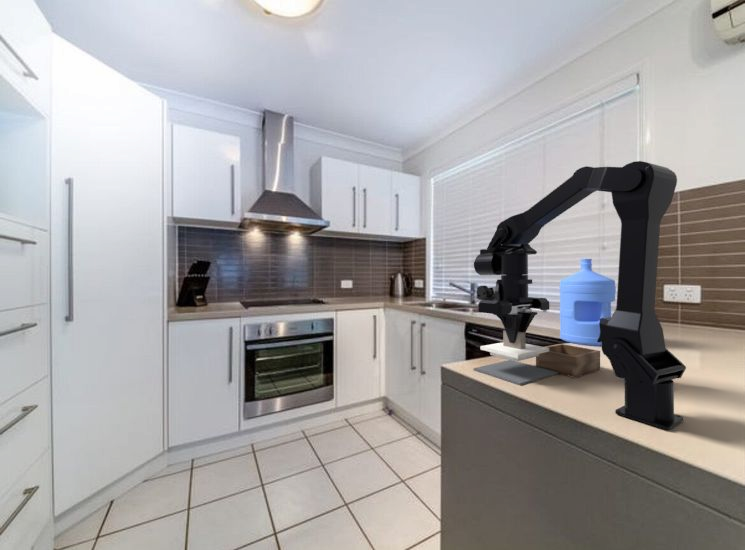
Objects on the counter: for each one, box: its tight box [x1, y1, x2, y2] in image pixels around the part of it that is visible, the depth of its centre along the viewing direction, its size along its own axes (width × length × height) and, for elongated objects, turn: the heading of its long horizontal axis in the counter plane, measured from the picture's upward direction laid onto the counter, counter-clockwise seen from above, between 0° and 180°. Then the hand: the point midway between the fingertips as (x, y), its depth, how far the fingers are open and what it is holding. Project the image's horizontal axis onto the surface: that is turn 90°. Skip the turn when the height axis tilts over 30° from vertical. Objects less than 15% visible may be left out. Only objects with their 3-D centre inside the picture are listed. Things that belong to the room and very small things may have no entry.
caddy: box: [535, 343, 601, 378], centre depth 73 cm, size 11×9×4 cm
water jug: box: [559, 258, 617, 347], centre depth 104 cm, size 16×16×28 cm
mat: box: [473, 359, 559, 386], centre depth 71 cm, size 14×12×1 cm
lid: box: [479, 329, 549, 362], centre depth 71 cm, size 12×10×6 cm
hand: (515, 342), depth 71 cm, fingers closed on lid
